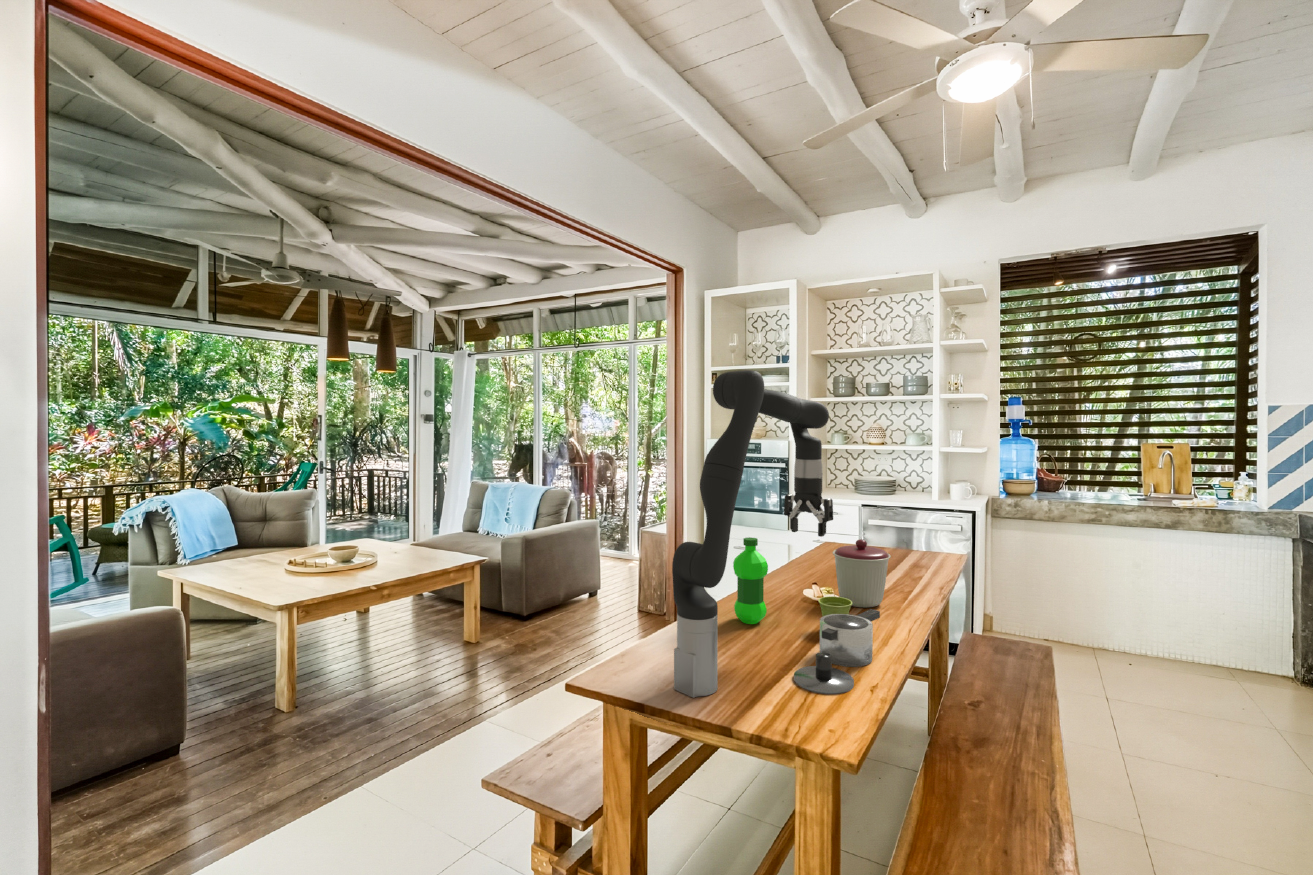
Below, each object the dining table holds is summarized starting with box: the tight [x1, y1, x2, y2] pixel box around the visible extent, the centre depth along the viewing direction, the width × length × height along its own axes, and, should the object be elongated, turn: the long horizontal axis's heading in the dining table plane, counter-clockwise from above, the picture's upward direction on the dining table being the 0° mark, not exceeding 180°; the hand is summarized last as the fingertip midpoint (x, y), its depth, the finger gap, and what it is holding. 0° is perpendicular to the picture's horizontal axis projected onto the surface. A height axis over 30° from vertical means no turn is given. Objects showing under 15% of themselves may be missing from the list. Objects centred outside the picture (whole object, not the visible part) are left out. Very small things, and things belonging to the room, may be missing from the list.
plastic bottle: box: [732, 536, 769, 625], centre depth 189 cm, size 10×10×25 cm
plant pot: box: [817, 595, 852, 617], centre depth 181 cm, size 9×9×9 cm
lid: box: [793, 651, 855, 695], centre depth 147 cm, size 14×14×6 cm
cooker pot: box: [819, 608, 881, 668], centre depth 164 cm, size 25×13×9 cm, turn 133°
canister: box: [832, 539, 892, 608], centre depth 206 cm, size 18×18×21 cm
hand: (807, 533), depth 174 cm, fingers open, 8 cm apart
